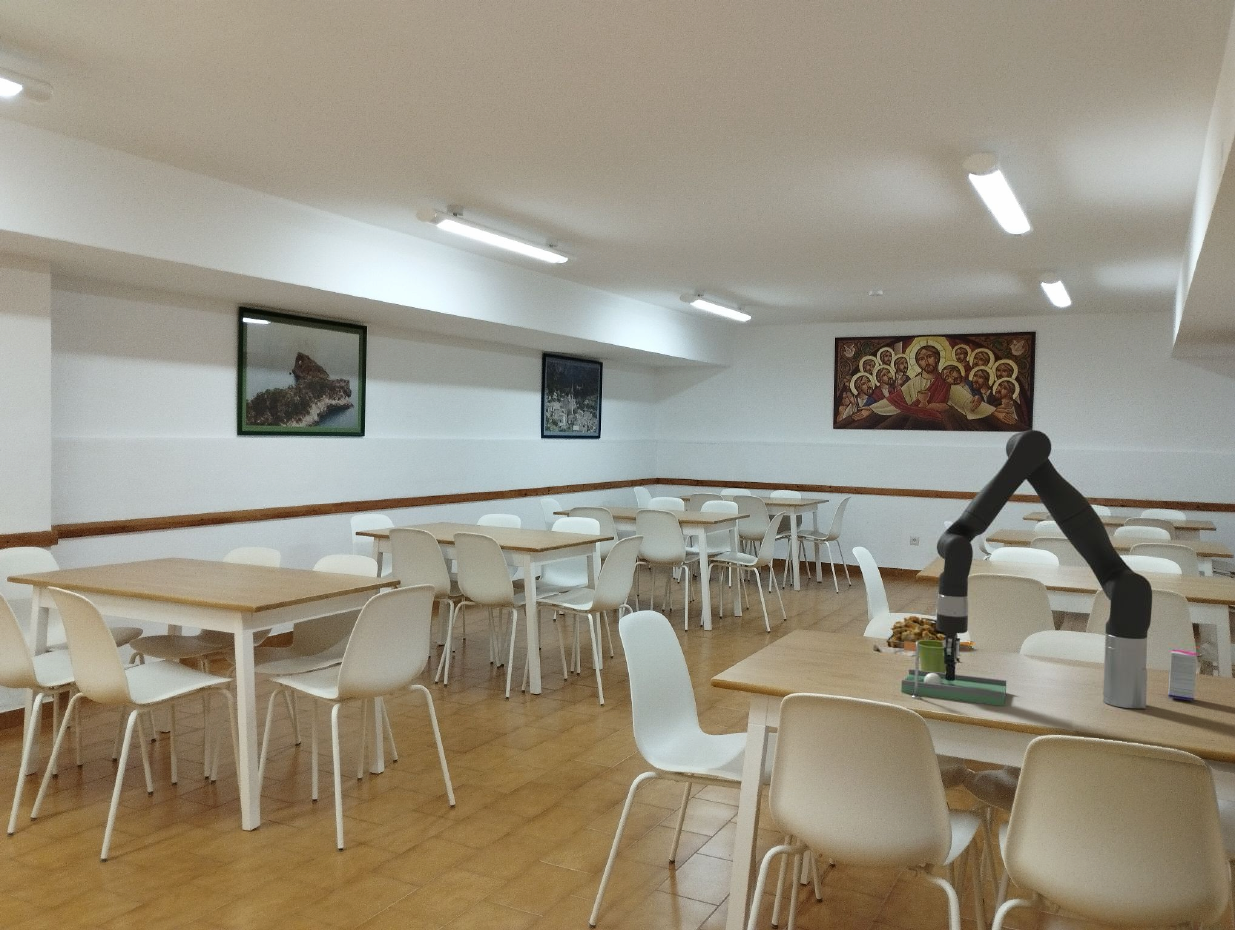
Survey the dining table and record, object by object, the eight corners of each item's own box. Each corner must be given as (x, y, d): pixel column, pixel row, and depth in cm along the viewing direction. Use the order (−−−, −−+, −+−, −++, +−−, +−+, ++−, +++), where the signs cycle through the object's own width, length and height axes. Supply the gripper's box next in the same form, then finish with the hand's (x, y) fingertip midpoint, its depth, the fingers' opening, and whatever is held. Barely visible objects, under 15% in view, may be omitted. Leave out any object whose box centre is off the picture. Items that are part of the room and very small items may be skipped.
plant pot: (953, 680, 253) (954, 648, 253) (917, 677, 255) (918, 646, 255) (948, 672, 262) (949, 641, 262) (913, 669, 264) (914, 639, 264)
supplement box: (1195, 700, 238) (1196, 655, 237) (1167, 697, 241) (1169, 652, 240) (1195, 695, 242) (1196, 651, 242) (1168, 692, 246) (1170, 648, 245)
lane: (1006, 692, 241) (1006, 680, 241) (1003, 706, 228) (1003, 693, 228) (908, 680, 251) (909, 668, 251) (901, 693, 238) (901, 680, 238)
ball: (924, 687, 245) (942, 689, 243) (922, 691, 241) (940, 693, 239) (924, 670, 245) (942, 672, 243) (922, 674, 241) (940, 675, 239)
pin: (921, 697, 234) (923, 642, 234) (920, 700, 232) (922, 643, 232) (903, 695, 236) (905, 640, 236) (901, 697, 234) (903, 641, 234)
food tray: (894, 634, 317) (895, 603, 317) (974, 643, 306) (975, 611, 305) (871, 654, 286) (872, 619, 286) (959, 665, 274) (961, 628, 274)
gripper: (965, 618, 232) (963, 687, 233) (970, 610, 244) (967, 676, 245) (933, 615, 235) (931, 683, 236) (939, 607, 247) (937, 672, 248)
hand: (950, 679), depth 240 cm, fingers closed
